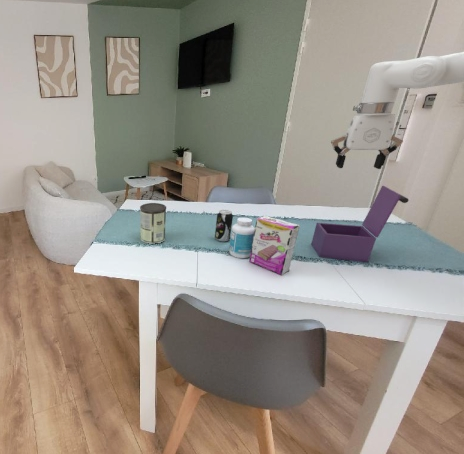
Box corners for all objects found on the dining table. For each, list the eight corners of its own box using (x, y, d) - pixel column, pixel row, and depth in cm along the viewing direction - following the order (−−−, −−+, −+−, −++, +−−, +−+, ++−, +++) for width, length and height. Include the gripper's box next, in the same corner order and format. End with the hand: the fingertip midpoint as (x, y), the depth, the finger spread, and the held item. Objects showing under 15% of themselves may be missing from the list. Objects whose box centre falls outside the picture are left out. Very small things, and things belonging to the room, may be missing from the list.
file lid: (399, 194, 86) (417, 197, 85) (382, 185, 95) (398, 188, 94) (375, 237, 93) (392, 240, 91) (361, 224, 102) (376, 227, 101)
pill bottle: (255, 255, 104) (261, 220, 99) (242, 261, 101) (248, 225, 95) (236, 247, 110) (241, 214, 105) (224, 253, 107) (228, 219, 101)
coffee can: (148, 231, 127) (149, 201, 122) (169, 237, 121) (171, 205, 115) (135, 240, 120) (134, 208, 115) (156, 246, 114) (157, 213, 108)
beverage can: (229, 243, 113) (233, 214, 109) (213, 241, 116) (216, 213, 111) (230, 237, 118) (233, 209, 113) (215, 235, 121) (218, 208, 116)
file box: (319, 257, 101) (325, 234, 97) (311, 244, 110) (316, 222, 106) (367, 262, 96) (376, 238, 93) (355, 248, 105) (362, 225, 102)
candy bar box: (248, 262, 100) (255, 218, 93) (256, 257, 102) (264, 214, 96) (281, 276, 91) (292, 228, 85) (289, 271, 94) (300, 224, 87)
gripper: (343, 111, 85) (328, 169, 91) (421, 108, 79) (399, 171, 85) (335, 110, 91) (321, 164, 98) (406, 107, 85) (386, 166, 92)
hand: (357, 167), depth 92 cm, fingers open, 9 cm apart
